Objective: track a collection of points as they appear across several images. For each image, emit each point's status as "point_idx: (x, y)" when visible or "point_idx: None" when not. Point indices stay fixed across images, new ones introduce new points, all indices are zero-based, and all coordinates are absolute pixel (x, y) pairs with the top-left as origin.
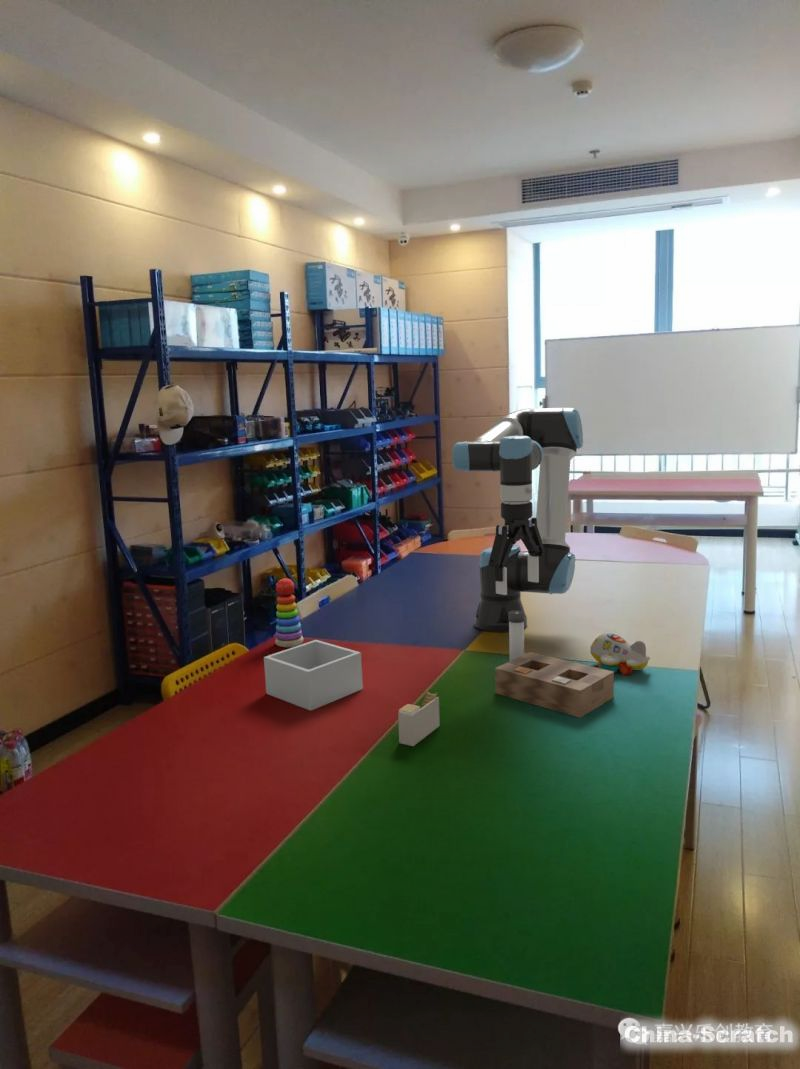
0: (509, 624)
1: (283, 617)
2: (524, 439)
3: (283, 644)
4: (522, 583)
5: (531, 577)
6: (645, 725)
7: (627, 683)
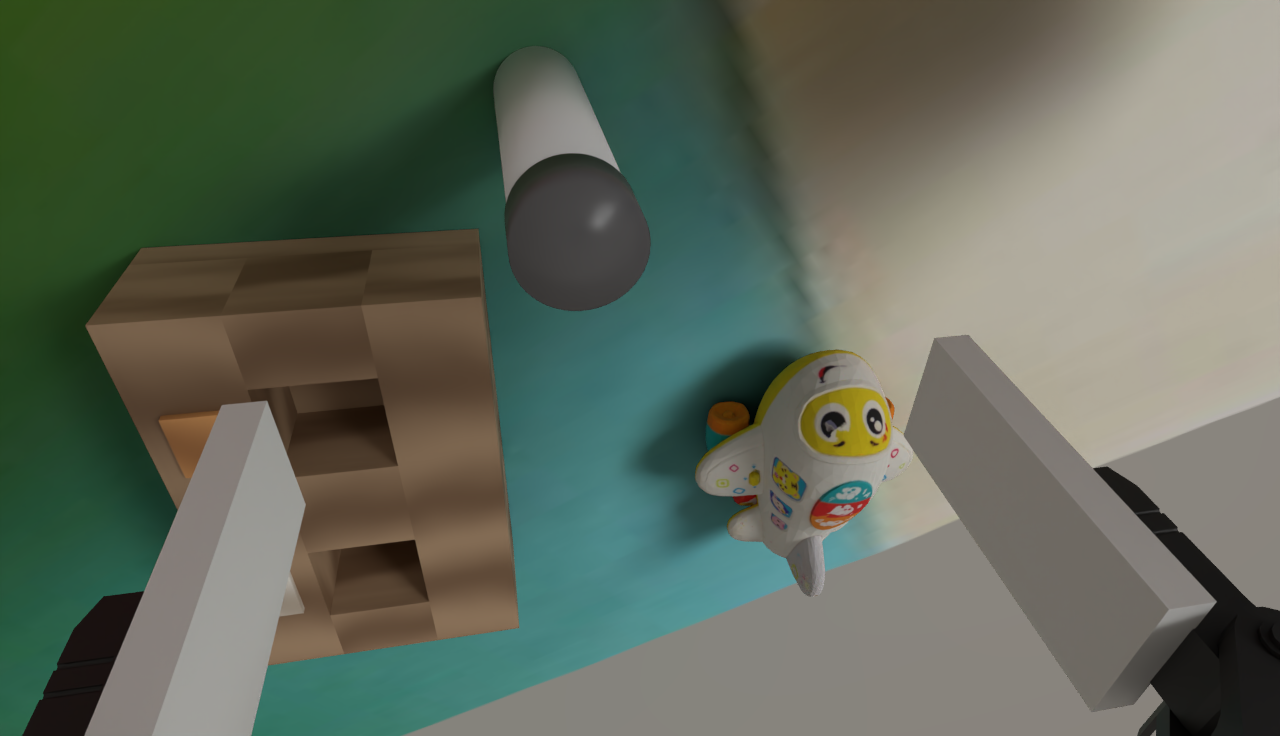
0: (517, 172)
1: None
2: None
3: None
4: None
5: (948, 410)
6: (395, 673)
7: (659, 509)
